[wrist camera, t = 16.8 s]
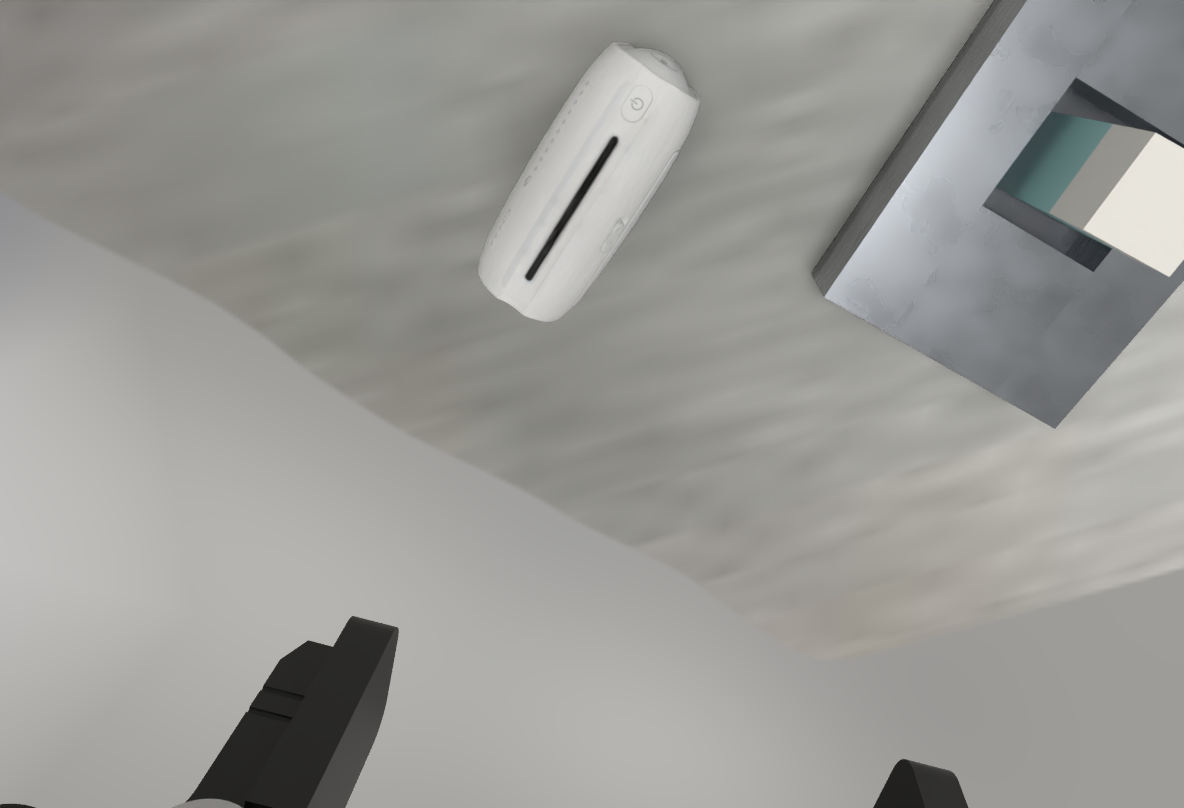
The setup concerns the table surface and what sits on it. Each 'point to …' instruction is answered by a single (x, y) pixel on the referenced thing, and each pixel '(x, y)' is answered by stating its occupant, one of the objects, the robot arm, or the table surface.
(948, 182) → the block
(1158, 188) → the plug
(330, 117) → the table surface
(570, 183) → the photo printer
